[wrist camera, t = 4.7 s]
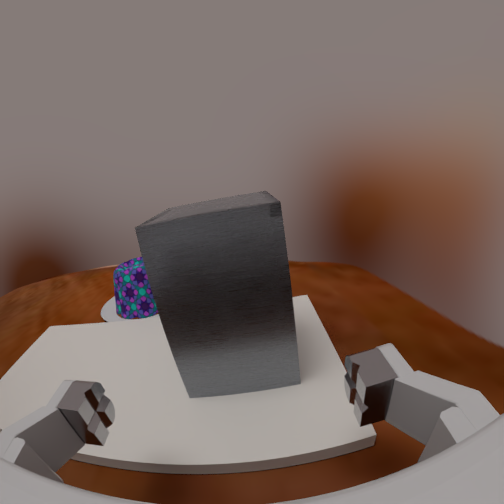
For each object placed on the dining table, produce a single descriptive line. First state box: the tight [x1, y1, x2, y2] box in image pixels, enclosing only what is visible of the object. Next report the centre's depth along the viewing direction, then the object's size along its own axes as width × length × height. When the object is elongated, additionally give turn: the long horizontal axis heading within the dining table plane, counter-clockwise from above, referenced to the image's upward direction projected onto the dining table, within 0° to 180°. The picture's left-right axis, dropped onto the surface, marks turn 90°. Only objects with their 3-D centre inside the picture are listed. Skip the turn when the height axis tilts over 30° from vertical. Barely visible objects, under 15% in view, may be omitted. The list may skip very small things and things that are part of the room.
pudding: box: [101, 257, 159, 322], centre depth 31 cm, size 12×12×5 cm
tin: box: [135, 191, 301, 398], centre depth 16 cm, size 6×6×10 cm
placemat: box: [0, 295, 377, 474], centre depth 18 cm, size 28×16×1 cm, turn 92°
